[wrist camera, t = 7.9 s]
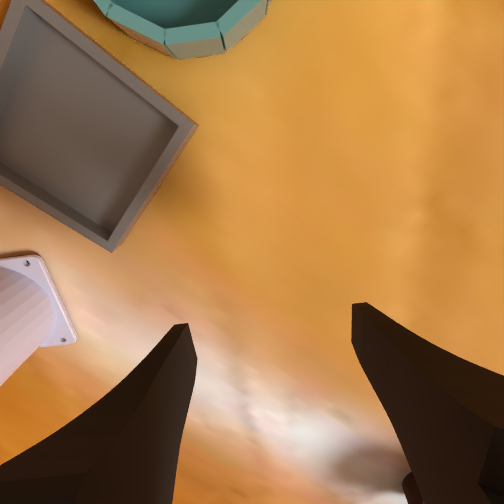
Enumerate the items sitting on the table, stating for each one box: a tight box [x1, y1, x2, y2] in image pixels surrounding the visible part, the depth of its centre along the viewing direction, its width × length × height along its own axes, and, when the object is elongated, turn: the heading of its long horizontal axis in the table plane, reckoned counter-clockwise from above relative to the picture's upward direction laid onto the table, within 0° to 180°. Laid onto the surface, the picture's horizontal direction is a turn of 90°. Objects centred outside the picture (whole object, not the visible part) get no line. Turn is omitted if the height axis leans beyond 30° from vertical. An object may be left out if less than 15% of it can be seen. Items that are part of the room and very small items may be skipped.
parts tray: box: [0, 0, 199, 253], centre depth 17 cm, size 10×10×2 cm
